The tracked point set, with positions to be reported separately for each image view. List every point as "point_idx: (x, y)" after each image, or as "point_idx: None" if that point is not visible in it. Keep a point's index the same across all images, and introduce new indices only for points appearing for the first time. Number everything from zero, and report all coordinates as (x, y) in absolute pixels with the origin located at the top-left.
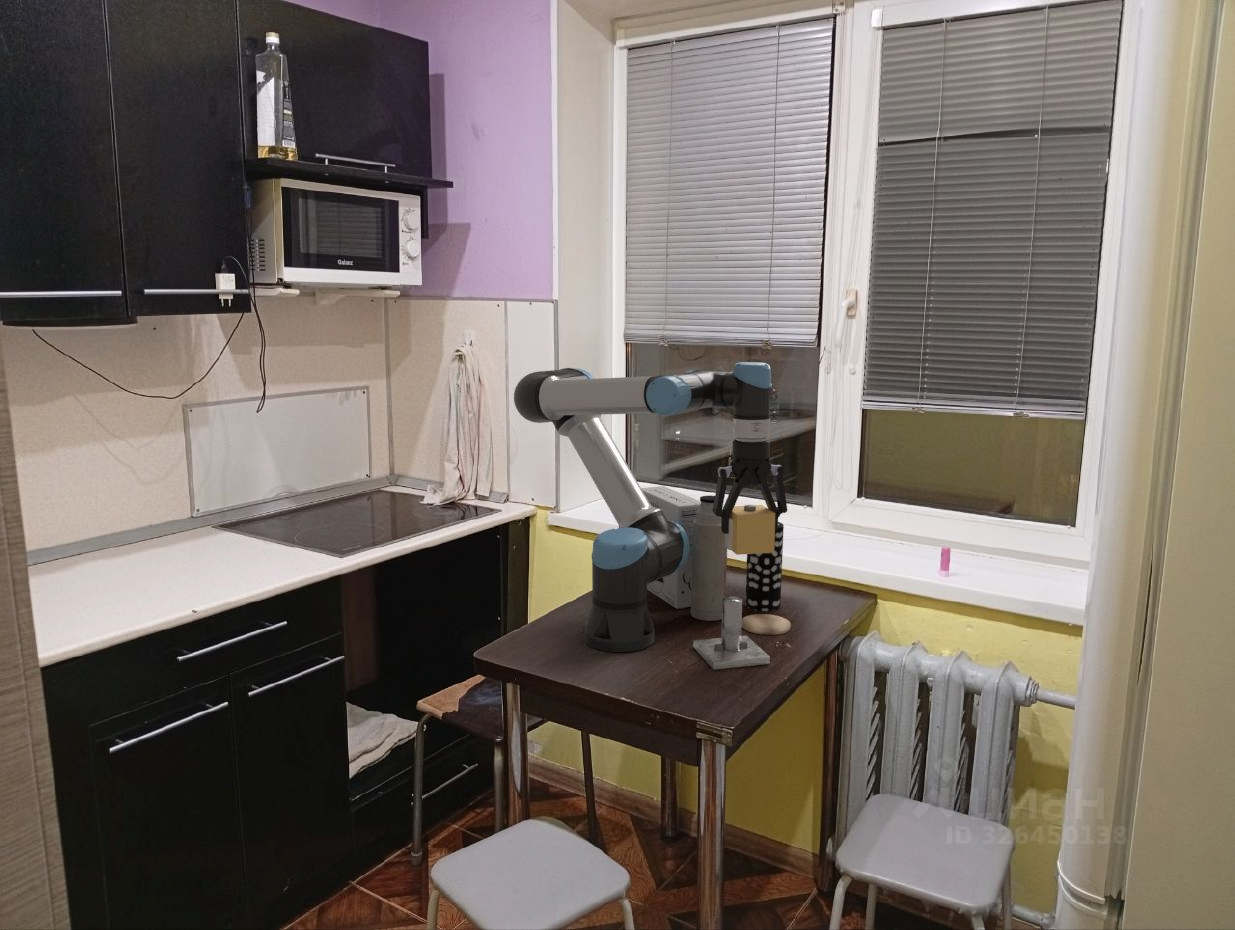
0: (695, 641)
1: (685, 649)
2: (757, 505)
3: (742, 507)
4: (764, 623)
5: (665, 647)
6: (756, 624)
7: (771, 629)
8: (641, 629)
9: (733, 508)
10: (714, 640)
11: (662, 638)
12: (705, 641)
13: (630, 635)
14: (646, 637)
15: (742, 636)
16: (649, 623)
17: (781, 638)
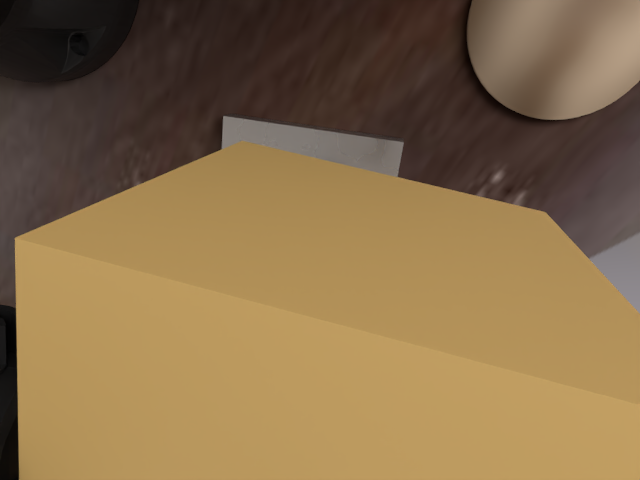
0: (226, 125)
1: (203, 119)
2: (627, 424)
3: (266, 417)
4: (555, 29)
5: (153, 81)
6: (519, 29)
7: (536, 98)
8: (42, 66)
9: (97, 405)
10: (284, 141)
11: (167, 3)
12: (255, 137)
13: (14, 75)
14: (77, 68)
15: (385, 144)
16: (75, 29)
17: (532, 153)
